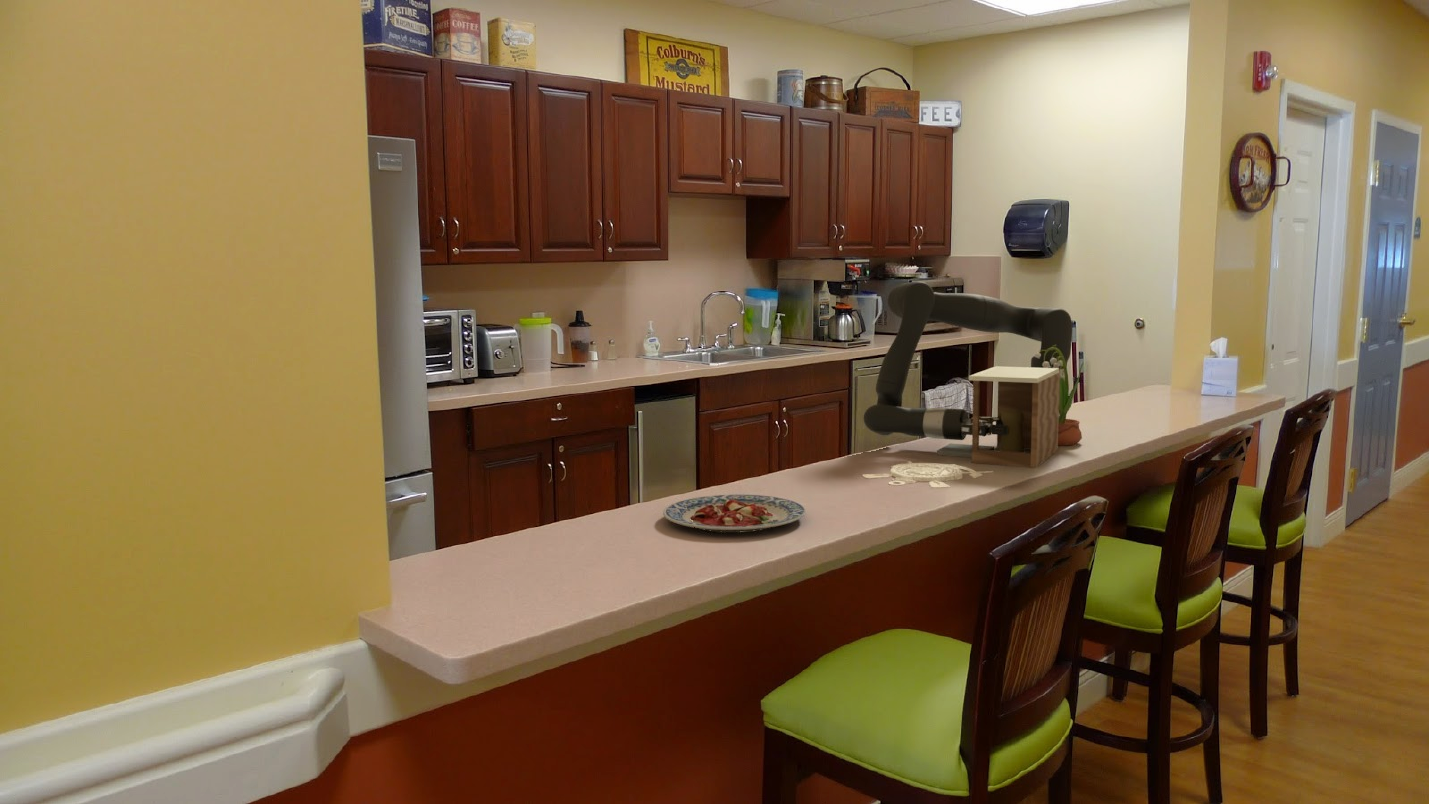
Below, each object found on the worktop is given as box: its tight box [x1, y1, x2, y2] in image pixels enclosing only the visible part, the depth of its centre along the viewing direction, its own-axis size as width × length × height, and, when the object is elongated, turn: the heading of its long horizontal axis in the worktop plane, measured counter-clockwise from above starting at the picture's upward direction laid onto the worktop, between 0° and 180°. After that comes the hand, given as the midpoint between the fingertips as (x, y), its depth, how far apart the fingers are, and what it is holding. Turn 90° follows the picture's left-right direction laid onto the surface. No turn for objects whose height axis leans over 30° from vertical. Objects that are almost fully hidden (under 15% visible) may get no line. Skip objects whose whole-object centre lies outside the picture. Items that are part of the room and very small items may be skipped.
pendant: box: [861, 460, 994, 489], centre depth 223 cm, size 21×28×1 cm
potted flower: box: [1034, 345, 1084, 446], centre depth 257 cm, size 12×10×25 cm
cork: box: [998, 410, 1026, 453], centre depth 241 cm, size 6×6×11 cm
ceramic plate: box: [662, 493, 806, 533], centre depth 185 cm, size 26×26×3 cm
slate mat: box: [936, 443, 995, 458], centre depth 247 cm, size 11×11×1 cm
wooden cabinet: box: [968, 365, 1060, 468], centre depth 241 cm, size 24×15×20 cm, turn 151°
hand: (1012, 427), depth 241 cm, fingers open, 8 cm apart
